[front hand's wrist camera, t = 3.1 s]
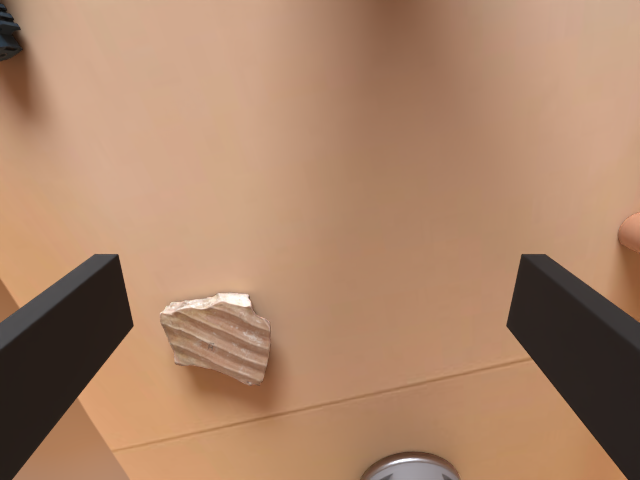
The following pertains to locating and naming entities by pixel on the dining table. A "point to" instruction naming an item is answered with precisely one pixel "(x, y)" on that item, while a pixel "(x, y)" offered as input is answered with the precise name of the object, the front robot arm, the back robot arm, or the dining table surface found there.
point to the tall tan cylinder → (630, 233)
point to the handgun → (7, 35)
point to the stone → (219, 335)
